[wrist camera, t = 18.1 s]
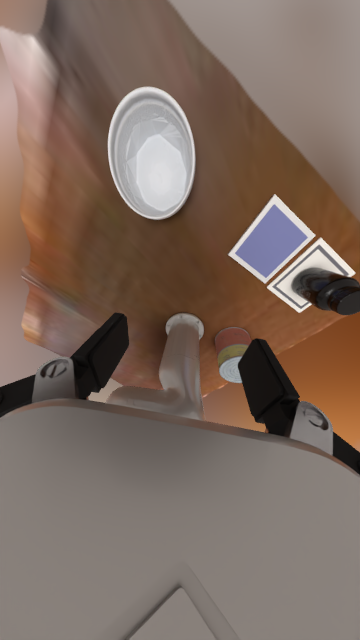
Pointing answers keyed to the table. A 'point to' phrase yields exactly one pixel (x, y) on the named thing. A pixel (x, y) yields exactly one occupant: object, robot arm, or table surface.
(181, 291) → the table surface
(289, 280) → the marked card
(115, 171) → the ramekin
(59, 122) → the table surface
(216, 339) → the canned food
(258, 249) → the ink pad
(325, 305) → the supplement bottle
